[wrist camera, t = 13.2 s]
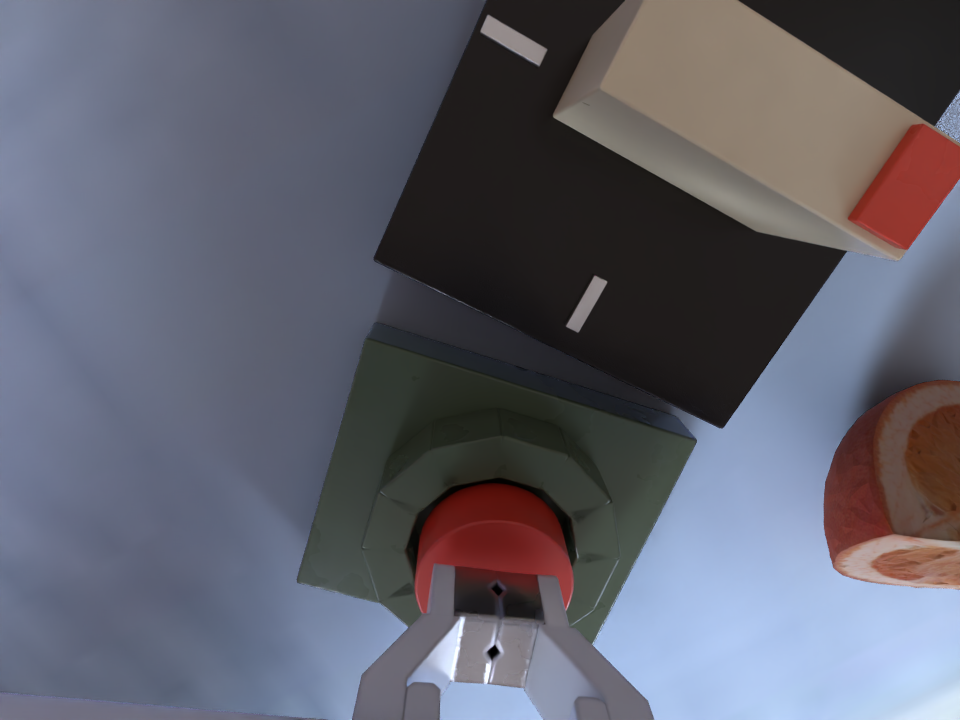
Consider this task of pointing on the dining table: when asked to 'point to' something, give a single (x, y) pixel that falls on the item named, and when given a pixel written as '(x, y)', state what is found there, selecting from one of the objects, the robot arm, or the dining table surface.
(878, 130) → the knob
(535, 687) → the robot arm
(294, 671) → the dining table surface
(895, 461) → the fruit slice
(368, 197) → the dining table surface
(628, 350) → the control panel
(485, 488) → the button
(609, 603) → the button box
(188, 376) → the dining table surface
